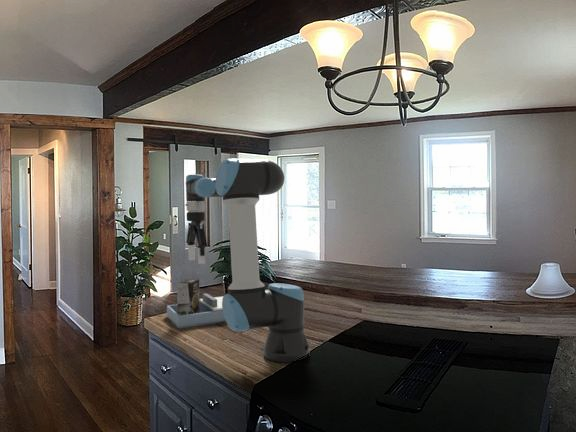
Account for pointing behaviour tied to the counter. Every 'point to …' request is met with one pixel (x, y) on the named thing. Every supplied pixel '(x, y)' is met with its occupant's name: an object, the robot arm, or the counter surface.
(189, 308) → the coffee box
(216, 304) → the lid
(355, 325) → the counter surface
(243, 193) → the robot arm
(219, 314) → the blue tray
